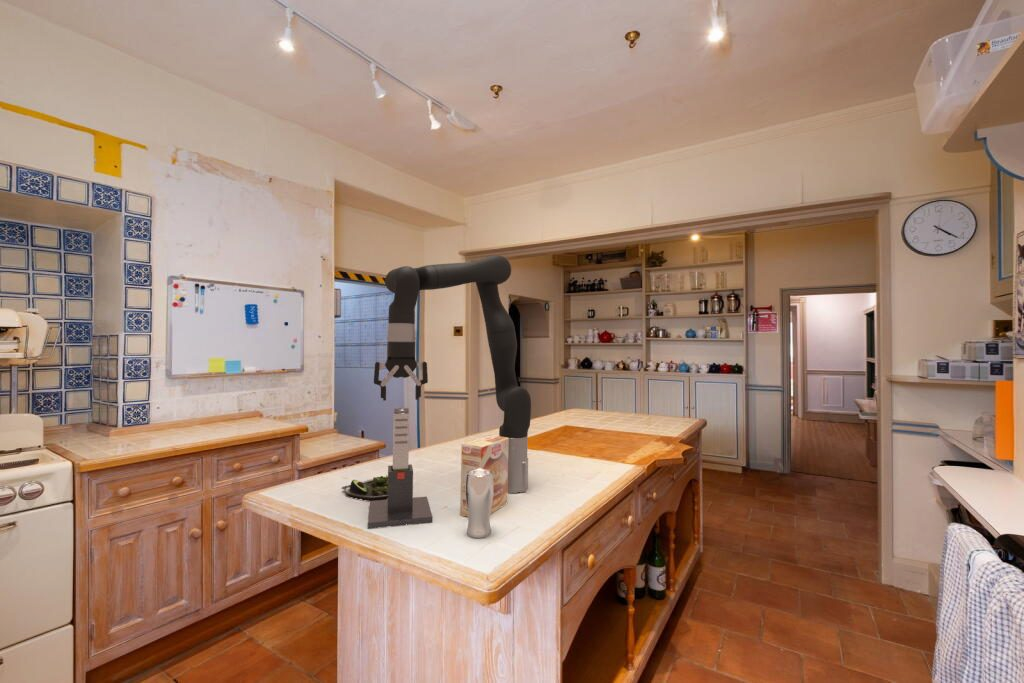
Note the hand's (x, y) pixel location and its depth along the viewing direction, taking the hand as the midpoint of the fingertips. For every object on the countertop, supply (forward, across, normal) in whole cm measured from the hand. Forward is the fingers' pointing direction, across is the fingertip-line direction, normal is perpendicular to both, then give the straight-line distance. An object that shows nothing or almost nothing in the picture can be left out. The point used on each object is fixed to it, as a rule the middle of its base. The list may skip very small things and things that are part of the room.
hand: (400, 399), depth 121 cm
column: (+24, 0, 0) cm, 24 cm away
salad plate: (+32, +7, -21) cm, 39 cm away
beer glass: (+31, -18, +17) cm, 40 cm away
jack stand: (+31, 0, 0) cm, 31 cm away
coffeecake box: (+32, -23, +2) cm, 39 cm away
